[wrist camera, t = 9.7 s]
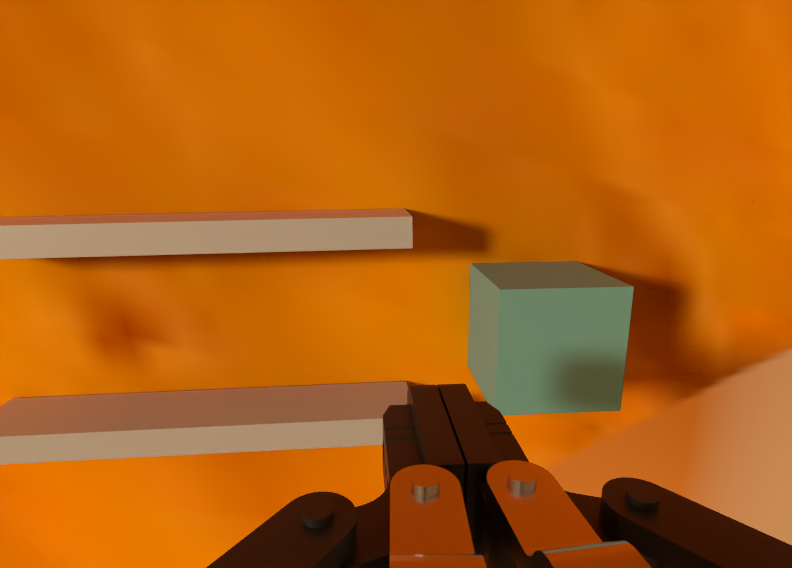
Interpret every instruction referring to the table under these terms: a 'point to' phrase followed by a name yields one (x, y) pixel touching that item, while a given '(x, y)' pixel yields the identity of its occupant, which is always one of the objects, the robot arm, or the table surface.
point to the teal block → (548, 336)
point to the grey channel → (198, 409)
